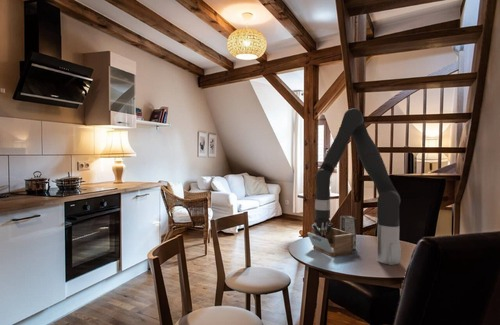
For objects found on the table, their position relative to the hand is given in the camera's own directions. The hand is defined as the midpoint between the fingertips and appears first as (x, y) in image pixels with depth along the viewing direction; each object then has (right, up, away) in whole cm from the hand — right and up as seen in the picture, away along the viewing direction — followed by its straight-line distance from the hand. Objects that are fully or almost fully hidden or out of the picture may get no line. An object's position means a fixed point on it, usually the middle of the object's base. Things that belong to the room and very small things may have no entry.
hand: (321, 242), depth 159 cm
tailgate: (0, -3, 0) cm, 3 cm away
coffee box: (+17, -5, +11) cm, 21 cm away
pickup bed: (+6, -5, +3) cm, 9 cm away
